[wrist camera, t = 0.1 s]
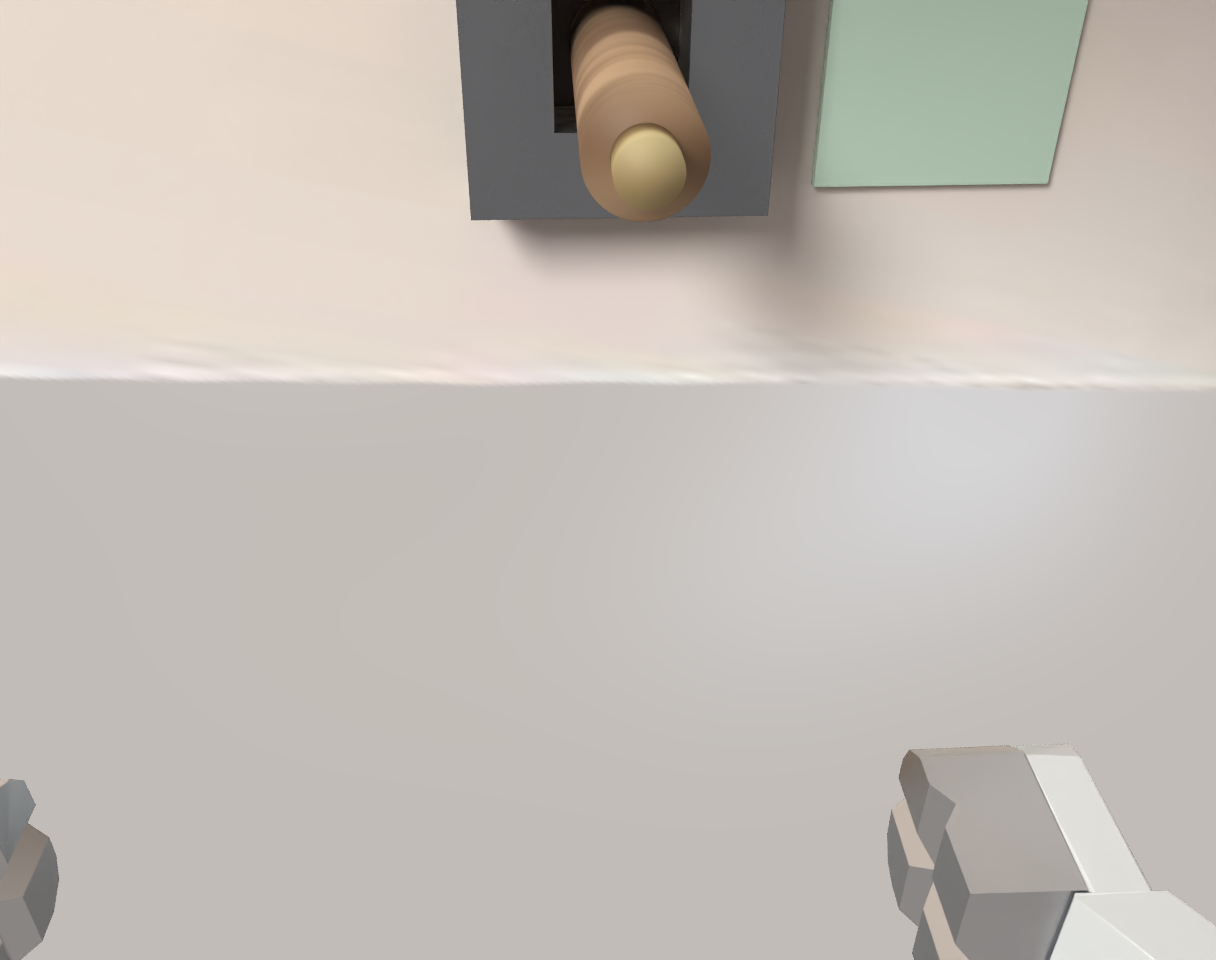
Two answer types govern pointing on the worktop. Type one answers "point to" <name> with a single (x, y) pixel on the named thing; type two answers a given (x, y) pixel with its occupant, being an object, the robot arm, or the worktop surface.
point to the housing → (547, 135)
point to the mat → (944, 91)
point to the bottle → (634, 113)
